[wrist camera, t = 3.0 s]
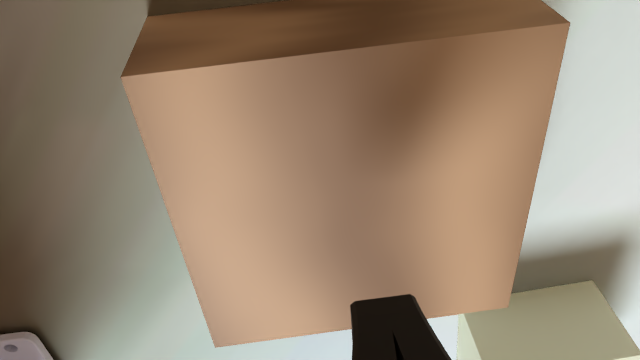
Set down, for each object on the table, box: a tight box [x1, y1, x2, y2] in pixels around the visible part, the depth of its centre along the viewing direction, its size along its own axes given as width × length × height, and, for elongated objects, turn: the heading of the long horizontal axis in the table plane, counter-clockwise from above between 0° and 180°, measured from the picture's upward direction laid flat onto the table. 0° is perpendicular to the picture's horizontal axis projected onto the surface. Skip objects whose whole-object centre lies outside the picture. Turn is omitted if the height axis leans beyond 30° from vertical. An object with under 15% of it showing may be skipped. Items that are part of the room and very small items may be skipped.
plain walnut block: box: [121, 0, 570, 348], centre depth 16 cm, size 10×10×4 cm
